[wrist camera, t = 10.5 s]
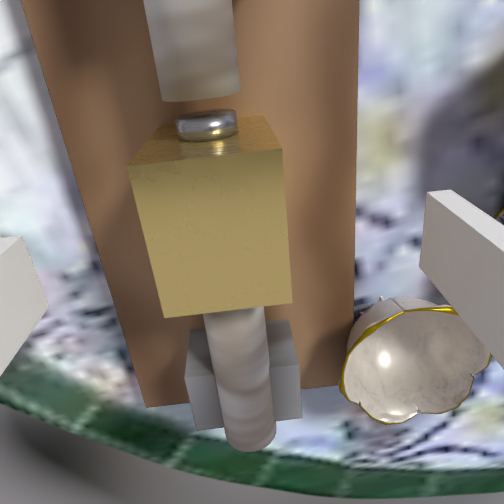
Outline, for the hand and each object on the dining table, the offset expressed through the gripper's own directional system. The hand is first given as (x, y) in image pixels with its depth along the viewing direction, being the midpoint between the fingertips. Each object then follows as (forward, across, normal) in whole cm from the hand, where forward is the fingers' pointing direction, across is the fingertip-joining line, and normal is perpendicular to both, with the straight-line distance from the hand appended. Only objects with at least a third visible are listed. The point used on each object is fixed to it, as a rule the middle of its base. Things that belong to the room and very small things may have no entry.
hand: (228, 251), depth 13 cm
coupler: (+8, +1, 0) cm, 8 cm away
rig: (+10, +1, 0) cm, 10 cm away
